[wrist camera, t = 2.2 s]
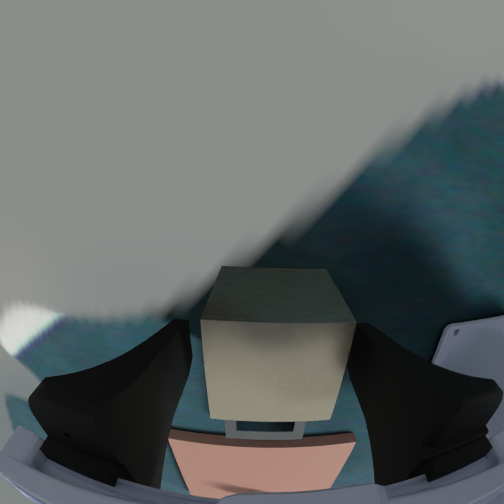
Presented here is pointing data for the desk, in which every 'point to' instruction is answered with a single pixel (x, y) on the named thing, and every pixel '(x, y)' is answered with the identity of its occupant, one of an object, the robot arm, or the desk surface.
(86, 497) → the robot arm
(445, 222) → the desk surface
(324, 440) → the keeper board
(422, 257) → the desk surface
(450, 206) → the desk surface
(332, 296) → the beige block with handle
